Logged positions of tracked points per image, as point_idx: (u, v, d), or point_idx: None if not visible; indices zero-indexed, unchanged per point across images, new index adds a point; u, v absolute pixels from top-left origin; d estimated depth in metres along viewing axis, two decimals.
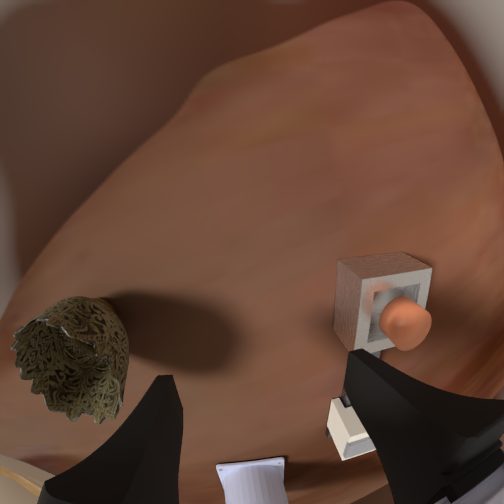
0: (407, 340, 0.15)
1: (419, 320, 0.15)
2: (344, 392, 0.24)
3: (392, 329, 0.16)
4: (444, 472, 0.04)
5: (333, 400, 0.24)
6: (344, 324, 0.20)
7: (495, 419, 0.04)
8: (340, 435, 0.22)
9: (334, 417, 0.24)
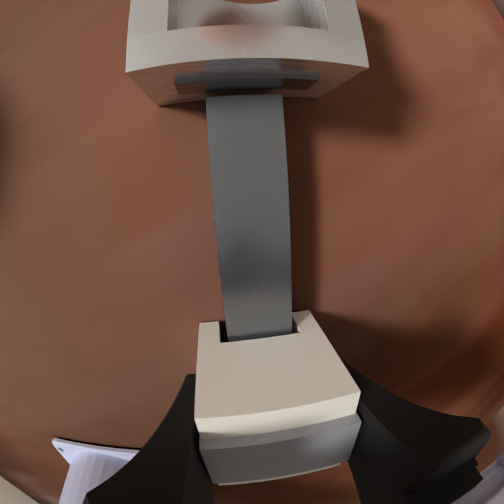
0: None
1: None
2: None
3: None
4: (408, 491, 0.04)
5: (202, 325, 0.11)
6: None
7: (464, 442, 0.04)
8: None
9: None
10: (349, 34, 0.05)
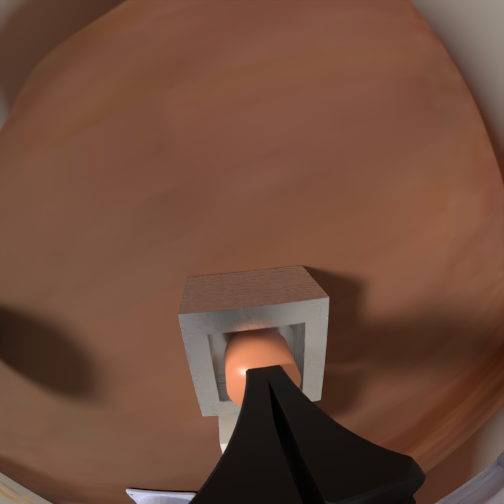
0: None
1: None
2: None
3: (226, 378, 0.11)
4: None
5: None
6: None
7: (379, 485, 0.03)
8: None
9: None
10: (313, 388, 0.13)
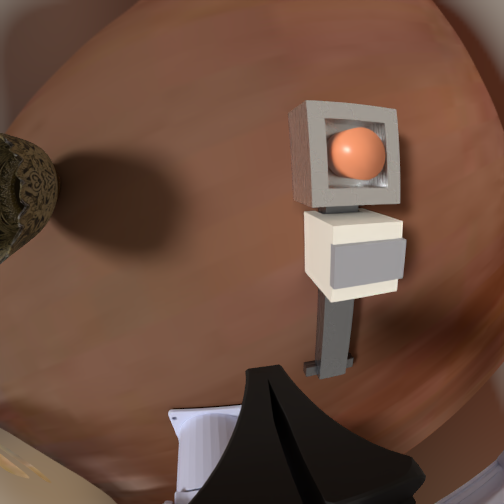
0: (357, 164, 0.14)
1: (366, 140, 0.14)
2: (320, 300, 0.21)
3: (335, 149, 0.14)
4: None
5: (306, 211, 0.19)
6: (300, 177, 0.17)
7: (379, 485, 0.03)
8: (321, 252, 0.17)
9: (310, 235, 0.18)
10: (394, 188, 0.16)
